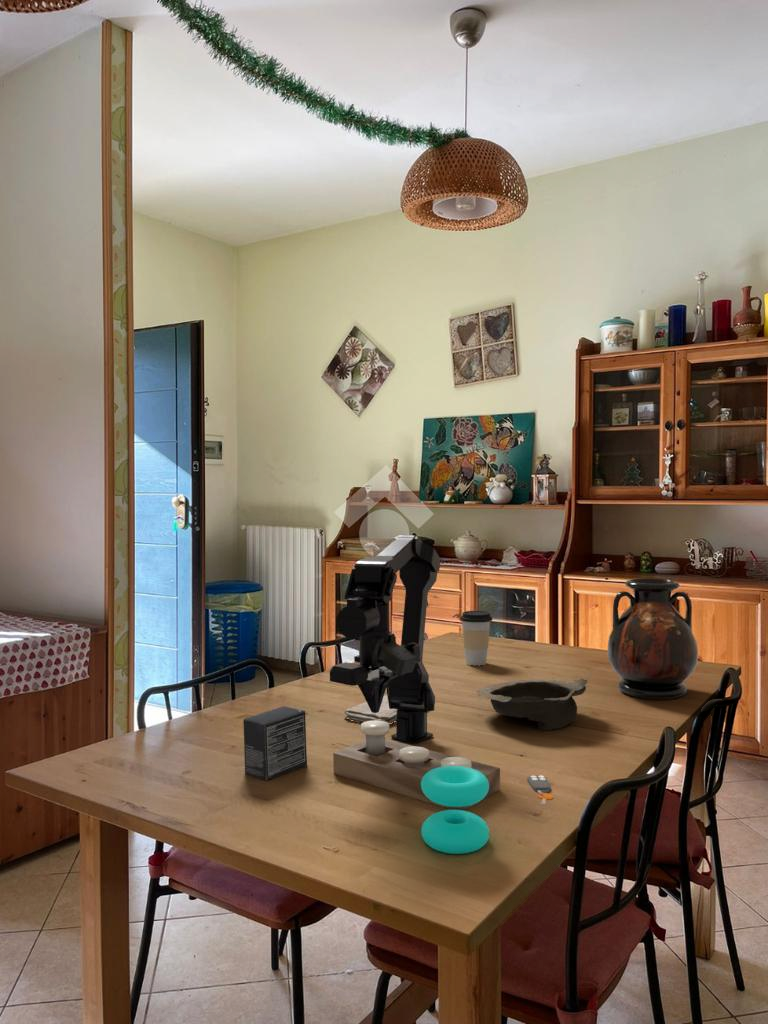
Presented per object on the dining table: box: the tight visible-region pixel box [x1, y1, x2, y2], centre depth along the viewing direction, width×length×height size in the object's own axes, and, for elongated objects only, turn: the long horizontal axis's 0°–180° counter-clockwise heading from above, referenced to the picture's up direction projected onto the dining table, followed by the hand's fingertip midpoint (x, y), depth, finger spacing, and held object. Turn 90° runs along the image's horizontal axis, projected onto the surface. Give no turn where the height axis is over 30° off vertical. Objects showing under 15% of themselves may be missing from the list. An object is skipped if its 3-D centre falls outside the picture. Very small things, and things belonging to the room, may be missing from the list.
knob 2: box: [441, 756, 472, 768], centre depth 135 cm, size 5×5×5 cm
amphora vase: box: [607, 577, 699, 700], centre depth 198 cm, size 22×22×28 cm
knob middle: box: [399, 745, 429, 767], centre depth 140 cm, size 5×5×5 cm
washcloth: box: [344, 694, 398, 724], centre depth 182 cm, size 12×18×3 cm, turn 145°
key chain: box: [526, 774, 554, 805], centre depth 135 cm, size 13×4×2 cm, turn 1°
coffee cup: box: [459, 610, 493, 667], centre depth 231 cm, size 9×9×15 cm
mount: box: [332, 738, 501, 811], centre depth 141 cm, size 12×28×4 cm, turn 51°
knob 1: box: [360, 720, 390, 756], centre depth 146 cm, size 5×5×5 cm
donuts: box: [420, 766, 490, 855], centre depth 117 cm, size 10×10×10 cm
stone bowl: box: [476, 678, 588, 732], centre depth 177 cm, size 25×25×9 cm
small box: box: [242, 705, 308, 782], centre depth 147 cm, size 11×6×10 cm, turn 141°
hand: (375, 712), depth 146 cm, fingers closed
